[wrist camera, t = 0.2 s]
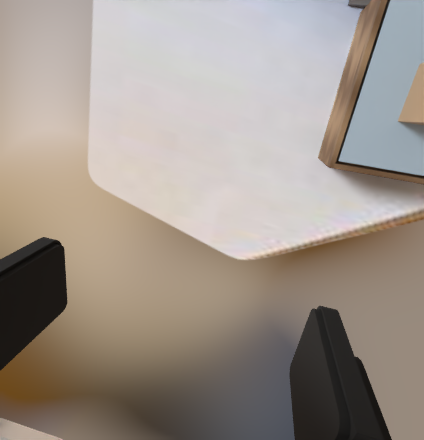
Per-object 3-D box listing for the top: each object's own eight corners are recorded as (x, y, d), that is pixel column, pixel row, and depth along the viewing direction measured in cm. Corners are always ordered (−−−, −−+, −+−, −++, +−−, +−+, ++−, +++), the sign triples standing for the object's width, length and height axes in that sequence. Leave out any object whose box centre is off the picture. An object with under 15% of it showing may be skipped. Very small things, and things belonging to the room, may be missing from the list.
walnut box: (360, 12, 30) (386, -17, 23) (501, 27, 28) (572, 0, 22) (317, 157, 36) (329, 167, 29) (431, 177, 34) (469, 192, 28)
